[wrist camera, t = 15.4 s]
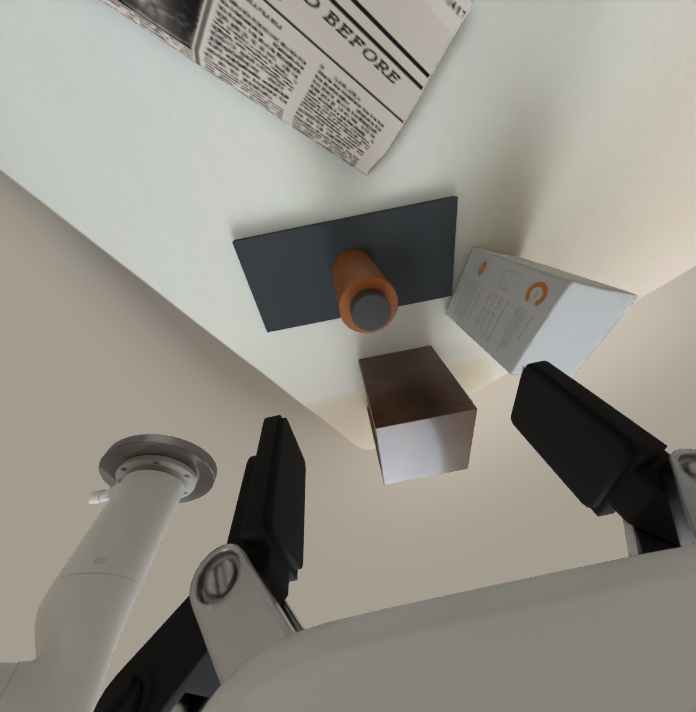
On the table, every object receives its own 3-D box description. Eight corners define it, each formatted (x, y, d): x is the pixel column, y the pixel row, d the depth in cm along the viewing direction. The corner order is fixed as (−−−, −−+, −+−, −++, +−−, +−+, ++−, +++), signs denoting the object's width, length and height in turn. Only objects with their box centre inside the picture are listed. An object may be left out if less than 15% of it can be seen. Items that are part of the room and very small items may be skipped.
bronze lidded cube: (367, 411, 40) (384, 485, 30) (358, 359, 35) (375, 428, 25) (430, 399, 40) (468, 468, 30) (431, 345, 35) (477, 408, 25)
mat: (268, 328, 31) (267, 332, 30) (234, 240, 25) (232, 241, 25) (448, 293, 31) (451, 295, 30) (453, 196, 25) (457, 196, 24)
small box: (487, 320, 33) (570, 383, 23) (443, 313, 32) (509, 376, 21) (521, 256, 29) (643, 295, 18) (472, 245, 28) (572, 280, 17)
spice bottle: (336, 294, 28) (346, 346, 19) (328, 253, 26) (334, 289, 17) (375, 287, 28) (404, 334, 19) (370, 245, 26) (401, 276, 17)
